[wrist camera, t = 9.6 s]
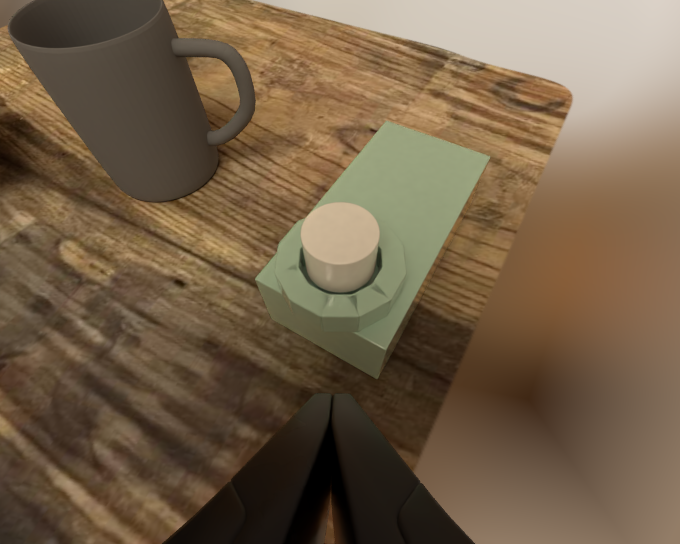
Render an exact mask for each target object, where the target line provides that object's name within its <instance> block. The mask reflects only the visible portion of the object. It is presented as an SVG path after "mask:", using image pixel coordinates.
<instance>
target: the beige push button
mask: <svg viewBox="0 0 680 544" xmlns="http://www.w3.org/2000/svg"><path fill="white" fill-rule="evenodd" d="M300 236H301V242H302V248H303V254H304V260H305V266H306V271H307V273H308V275H309V277H310V279H311V280H312V281H313V282H314V283H315V284H316V285H318V286H319V287H321V288H322V289H325V290H327V291H331V292H337V293H344V292H350V291H354V290H356V289H358V288H360V287H362V286H363V285H365V284H366V283H367V282H368V281H369V280H370V279H371V277H372V276H373V274H374V271H375V267H376V261H377V253H378V246H379V239H380V229H379V225H378V223H377V221H376V219H375V218H374V216H373V215H372V214H371V213H370V212H369V211H367V210H366V209H364V208H363V207H361V206H358V205H356V204H352V203H347V202H334V203H329V204H325V205H323V206H320V207H318V208H316V209H315V210H313V211H312V212H311V213H310V214H309V215H308V216H307V217H306V219H305V220H304V222H303V224H302V227H301V232H300Z"/></svg>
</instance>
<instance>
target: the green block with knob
mask: <svg viewBox="0 0 680 544" xmlns="http://www.w3.org/2000/svg"><path fill="white" fill-rule="evenodd" d="M489 160H490V156H488V155H485V154H482V153H479V152H476V151H474V150H471V149H468V148H465V147H462V146H459V145H456V144H453V143H450V142H447V141H444V140H442V139H439V138H436V137H433V136H430V135H427V134H424V133H421V132H418V131H415V130H412V129H410V128H407V127H404V126H401V125H398V124H395V123H392V122H389V121H386V122H385V123H384V124H383V125H382V126H381V128H380V129H379V130H378V131H377V132H376V134H375V135H374V136H373V137H372V138H371V140H370V141H369V142H368V143H367V144H366V146H365V147H364V148H363V149H362V151H361V152H360V153H359V154H358V155H357V157H356V158H355V159H354V160H353V161H352V163H351V164H350V165H349V166H348V167H347V169H346V170H345V171H344V172H343V173H342V175H341V176H340V177H339V178H338V179H337V181H336V182H335V183H334V184H333V185H332V187H331V188H330V189H329V190H328V191H327V193H326V194H325V195H324V196H323V197H322V199H321V200H320V201H319V202H318V203H317V205H316V206H315V207H314V208H313V209H312V211H313V210H315V209H316V208H318V207H320V206H323V205H325V204H329V203H334V202H347V203H352V204H356V205H358V206H361V207H363V208H364V209H366V210H367V211H369V212H370V213H371V214H372V215H373V216H374V218H375V219H376V221H377V223H378V225H379V229H380V239H379V246H378V253H377V261H376V267H375V271H374V274H373V276H372V277H371V279H370V280H369V281H368V282H367V283H366V284H365V285H363V286H362V287H360V288H358V289H356V290H354V291H350V292H344V293H337V292H331V291H327V290H325V289H322V288H321V287H319V286H318V285H316V284H315V283H314V282H313V281H312V280H311V279H310V277H309V275H308V273H307V271H306V266H305V260H304V254H303V248H302V242H301V236H300V232H301V227H302V224H303V222H304V220H305V219H306V218H304V219H302V220H299V221H297V223H296V224H295V225H294V226H293V227H292V228H291V230H290V231H289V232H288V233H287V234H286V236H285V237H284V238H283V239H282V240H281V241H280V243H279V245H278V248H277V253H276V254H275V255H274V256H273V258H272V259H271V260H270V261H269V262H268V264H267V265H266V266H265V267H264V268H263V270H262V271H261V272H260V273H259V274H258V276H257V277H256V278H255V281H256V283H257V286H258V288H259V290H260V293H261V295H262V298H263V300H264V303H265V305H266V308H267V310H268V312H269V315H270V317H271V319H272V320H274V321H276V322H277V323H279V324H281V325H283V326H284V327H286V328H288V329H290V330H291V331H293V332H295V333H297V334H298V335H300V336H302V337H304V338H305V339H307V340H309V341H311V342H312V343H314V344H316V345H318V346H319V347H321V348H323V349H325V350H326V351H328V352H330V353H332V354H333V355H335V356H337V357H339V358H340V359H342V360H344V361H346V362H347V363H349V364H351V365H353V366H354V367H356V368H358V369H360V370H361V371H363V372H365V373H367V374H368V375H370V376H372V377H374V378H375V379H378V378H379V376H380V374H381V373H382V371H383V369H384V367H385V365H386V363H387V361H388V359H389V357H390V356H391V354H392V352H393V350H394V348H395V346H396V344H397V342H398V340H399V339H400V337H401V335H402V333H403V331H404V329H405V327H406V325H407V323H408V322H409V320H410V318H411V316H412V314H413V312H414V310H415V308H416V307H417V305H418V303H419V301H420V299H421V297H422V295H423V293H424V291H425V290H426V288H427V286H428V284H429V282H430V280H431V278H432V276H433V274H434V273H435V271H436V269H437V267H438V265H439V263H440V261H441V259H442V257H443V256H444V254H445V252H446V250H447V248H448V246H449V244H450V242H451V240H452V239H453V237H454V235H455V233H456V231H457V229H458V227H459V225H460V223H461V222H462V220H463V218H464V216H465V214H466V212H467V210H468V208H469V206H470V204H471V201H472V199H473V197H474V194H475V192H476V190H477V188H478V185H479V183H480V181H481V178H482V176H483V174H484V171H485V169H486V167H487V164H488V162H489ZM312 211H311V212H312ZM311 212H310V213H311ZM310 213H309V214H310ZM309 214H308V215H309ZM308 215H307V216H308Z"/></svg>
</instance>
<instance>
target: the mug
mask: <svg viewBox="0 0 680 544" xmlns="http://www.w3.org/2000/svg"><path fill="white" fill-rule="evenodd" d="M8 32H9V35H10V37H11V39H12V41H13V42H14V44H15V46H16V47H17V49H18V50H19V52H20V53H21V55H22V56H23V58H24V59H25V61H26V62H27V64H28V65H29V67H30V68H31V70H32V71H33V72H34V74H35V75H36V77H37V78H38V79H39V81H40V82H41V84H42V85H43V87H44V88H45V89H46V91H47V92H48V94H49V95H50V96H51V98H52V99H53V101H54V102H55V103H56V105H57V106H58V107H59V109H60V110H61V112H62V113H63V114H64V116H65V117H66V118H67V120H68V121H69V123H70V124H71V125H72V127H73V128H74V129H75V131H76V132H77V133H78V135H79V136H80V138H81V139H82V140H83V142H84V143H85V144H86V146H87V147H88V148H89V150H90V151H91V152H92V154H93V155H94V156H95V158H96V159H97V160H98V162H99V163H100V164H101V166H102V167H103V168H104V170H105V171H106V172H107V174H108V175H109V176H110V177H111V178H112V180H113V181H114V182H115V183H116V185H117V186H118V187H119V188H120V189H121V190H122V191H123V192H125V193H126V194H128V195H129V196H131V197H133V198H135V199H138V200H142V201H149V202H162V201H169V200H174V199H177V198H180V197H183V196H186V195H188V194H190V193H192V192H194V191H196V190H197V189H199V188H200V187H202V186H203V185H204V184H205V183H206V182H207V181H208V180H209V179H210V178H211V177H212V176H213V174H214V172H215V170H216V168H217V165H218V151H217V145H221V144H225V143H227V142H228V141H230V140H232V139H233V138H234V137H236V136H237V135H238V134H239V133H240V132H241V131H242V130H243V129H244V128H245V127H246V126H247V124H248V123H249V121H250V120H251V118H252V116H253V114H254V111H255V102H256V100H255V92H254V86H253V82H252V79H251V75H250V72H249V69H248V67H247V65H246V63H245V61H244V59H243V58H242V56H241V55H240V54H239V53H238V52H237V50H236V49H235V48H233V47H232V46H230V45H229V44H227V43H223V42H220V41H216V40H209V39H194V38H178V36H177V33H176V30H175V28H174V25H173V23H172V20H171V18H170V15H169V13H168V11H167V8H166V6H165V4H164V2H163V0H33V1H32V2H30V3H28V4H26V5H25V6H23V7H22V8H21V9H19V10H18V11H17V12H16V13H15V14H14V15H13V16H12V18H11V19H10V21H9V23H8ZM186 57H211V58H217V59H220V60H222V61H223V62H224V63H225V64H226V65H227V66H228V67H229V68H230V70H231V72H232V74H233V76H234V78H235V81H236V84H237V87H238V91H239V96H240V106H239V108H238V110H237V112H236V114H235V115H234V116H233V118H232V119H231V120H230V121H229V122H228V123H227V124H226V125H225V126H224V127H222V128H221V129H219V130H215V131H212V130H211V127H210V124H209V121H208V118H207V115H206V112H205V110H204V107H203V104H202V101H201V98H200V95H199V93H198V90H197V87H196V84H195V82H194V79H193V76H192V73H191V71H190V68H189V65H188V62H187V60H186Z"/></svg>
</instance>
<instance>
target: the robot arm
mask: <svg viewBox="0 0 680 544" xmlns="http://www.w3.org/2000/svg"><path fill="white" fill-rule="evenodd" d="M330 498H331V502H332V516H333V527H334V538H335V544H475V543H474V542H473V541H472V540H471V539H470V538H469V537H468V536H467V535H466V534H465V532H464V531H463V530H462V529H461V528H460V527H459V526H458V525H457V524H456V523H455V522H454V521H453V520H452V519H451V518H450V517H449V515H448V514H447V513H446V512H445V511H444V509H443V508H442V507H441V506H440V505H439V504H438V502H437V501H436V500H435V499H434V498H433V497H432V495H431V494H430V493H429V492H428V490H427V489H426V488H425V486H424V485H423V484H422V483H420V480H419V479H418V478H417V477H416V475H415V474H414V473H413V472H412V470H411V469H410V468H409V467H408V465H407V464H406V463H405V462H404V460H403V459H402V458H401V457H400V455H399V454H398V453H397V452H396V450H395V449H394V448H393V447H392V445H391V444H390V443H389V442H388V440H387V439H386V438H385V437H384V435H383V434H382V433H381V432H380V430H379V429H378V428H377V427H376V425H375V424H374V423H373V422H372V420H371V419H370V418H369V417H368V415H367V414H366V413H365V412H364V410H363V409H362V408H361V407H360V405H359V404H358V403H357V402H356V400H355V399H354V398H353V397H352V395H351V394H334V395H333V397H332V395H331V394H328V393H317V394H314V395H313V396H312V397H311V398H310V399H309V400H308V401H307V402H306V403H305V404H304V405H303V406H302V407H301V408H300V409H299V410H298V411H297V412H296V413H295V414H294V415H293V416H292V418H291V419H290V420H289V421H288V422H287V423H286V424H285V425H284V426H283V427H282V428H281V429H280V430H279V431H278V432H277V433H276V434H275V435H274V436H273V437H272V438H271V439H270V440H269V441H268V442H267V443H266V444H265V445H264V446H263V447H262V448H261V449H260V450H259V451H258V452H257V453H256V454H255V455H254V456H253V457H252V458H251V459H250V460H249V461H248V462H247V463H246V464H245V465H244V466H243V467H242V468H241V470H240V471H239V472H238V473H237V474H236V475H235V476H234V477H233V478H232V479H231V482H228V483H227V484H226V485H225V486H224V487H223V488H222V489H221V490H220V491H219V492H218V493H217V494H216V495H215V496H214V497H213V498H212V499H211V500H210V501H209V502H208V503H206V504H205V505H204V506H203V507H202V508H201V509H200V510H199V511H198V512H197V513H196V514H195V515H194V516H193V517H192V518H191V519H190V520H188V521H187V522H186V523H185V524H184V525H183V526H182V527H180V528H179V529H178V530H177V531H176V532H175V533H174V534H172V535H171V536H170V537H169V538H168V539H167V540H166V541H164V542H163V543H162V544H324V541H325V534H326V528H327V521H328V514H329V507H330Z"/></svg>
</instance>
